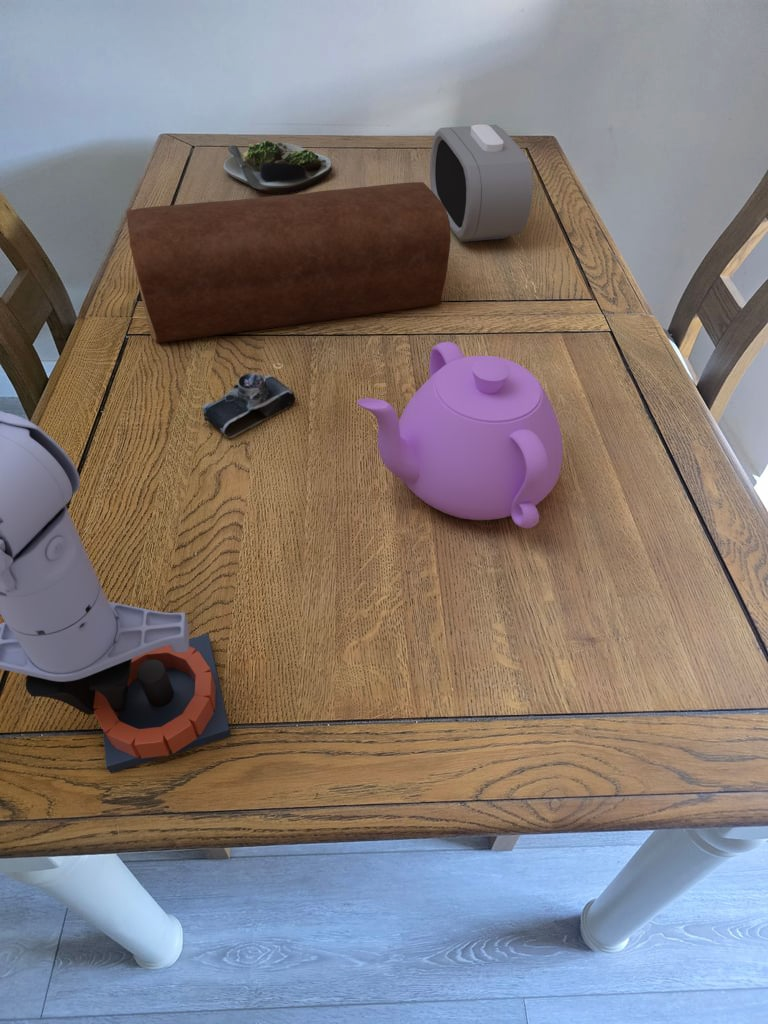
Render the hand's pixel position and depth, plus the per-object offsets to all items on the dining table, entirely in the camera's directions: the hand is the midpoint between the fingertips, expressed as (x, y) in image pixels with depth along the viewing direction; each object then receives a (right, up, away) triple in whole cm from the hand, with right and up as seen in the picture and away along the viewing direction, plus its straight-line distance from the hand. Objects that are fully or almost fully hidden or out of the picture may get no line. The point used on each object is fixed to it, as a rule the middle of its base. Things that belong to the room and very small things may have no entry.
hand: (108, 700), depth 53 cm
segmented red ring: (+3, -1, +1) cm, 4 cm away
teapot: (+28, +17, +21) cm, 39 cm away
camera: (+6, +25, +27) cm, 38 cm away
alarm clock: (+35, +61, +60) cm, 93 cm away
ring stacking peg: (+3, -1, +3) cm, 4 cm away
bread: (+9, +43, +44) cm, 62 cm away
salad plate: (+2, +73, +70) cm, 102 cm away
